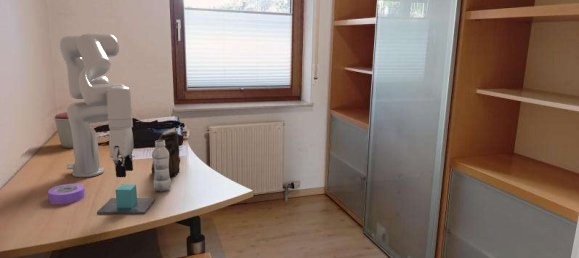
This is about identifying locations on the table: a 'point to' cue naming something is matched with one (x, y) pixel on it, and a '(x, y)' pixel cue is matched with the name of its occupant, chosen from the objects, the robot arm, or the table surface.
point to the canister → (64, 129)
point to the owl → (171, 151)
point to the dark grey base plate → (138, 208)
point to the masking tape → (66, 193)
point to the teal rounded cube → (126, 196)
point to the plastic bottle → (161, 166)
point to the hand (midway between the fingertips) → (124, 173)
